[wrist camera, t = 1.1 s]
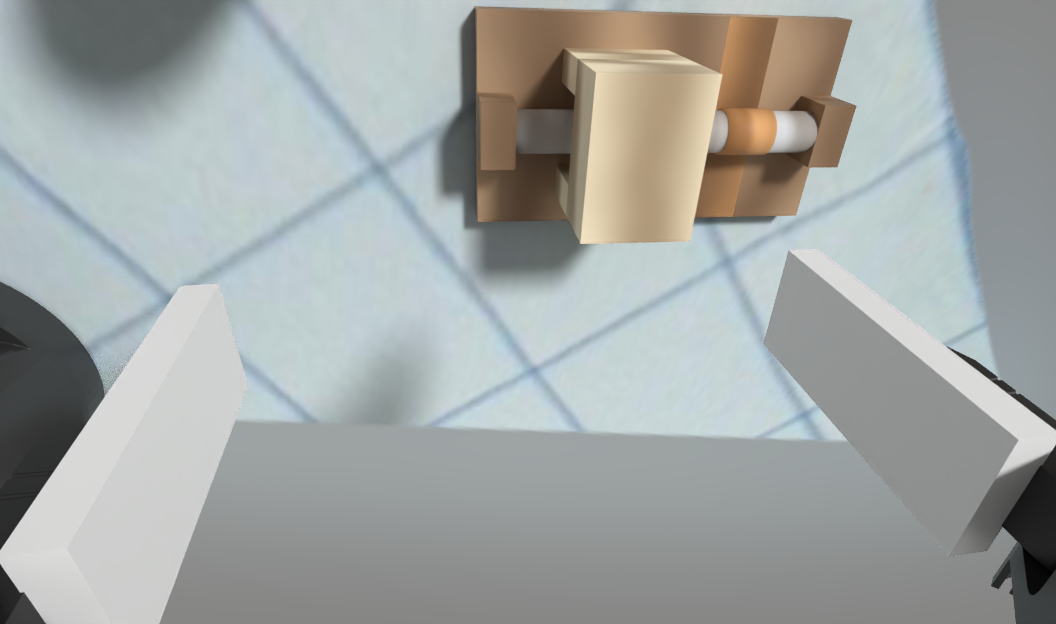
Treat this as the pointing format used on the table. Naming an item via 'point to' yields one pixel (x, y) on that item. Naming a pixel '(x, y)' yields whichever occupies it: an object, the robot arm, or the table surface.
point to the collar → (635, 144)
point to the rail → (708, 39)
